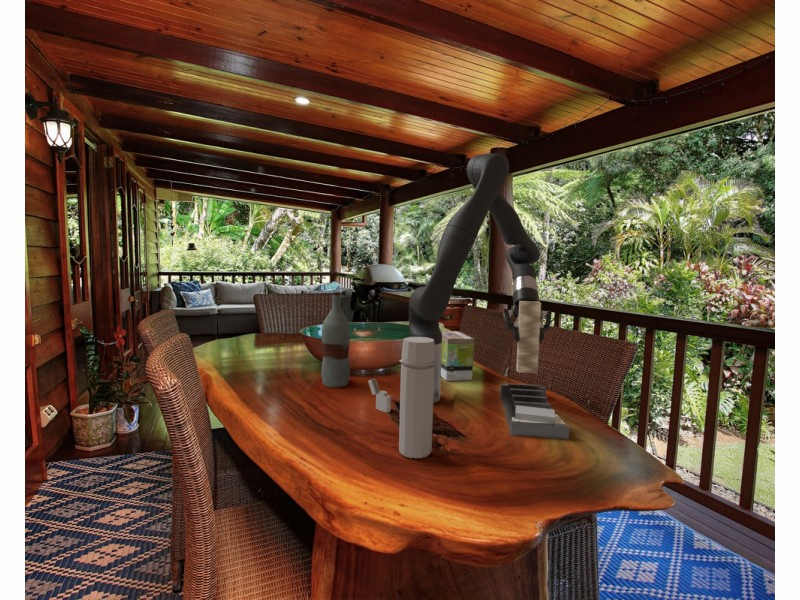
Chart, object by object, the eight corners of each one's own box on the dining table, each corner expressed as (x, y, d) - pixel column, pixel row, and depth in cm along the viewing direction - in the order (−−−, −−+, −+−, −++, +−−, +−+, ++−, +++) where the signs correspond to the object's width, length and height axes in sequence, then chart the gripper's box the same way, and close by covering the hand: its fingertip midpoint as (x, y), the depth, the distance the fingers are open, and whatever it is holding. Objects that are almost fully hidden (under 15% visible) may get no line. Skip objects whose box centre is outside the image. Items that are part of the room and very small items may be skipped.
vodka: (330, 389, 141) (330, 293, 138) (315, 382, 148) (316, 291, 145) (355, 384, 147) (356, 292, 144) (340, 378, 154) (341, 290, 151)
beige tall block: (517, 372, 128) (520, 302, 126) (516, 369, 131) (519, 301, 129) (537, 373, 128) (541, 302, 125) (535, 370, 131) (539, 301, 128)
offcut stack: (514, 434, 106) (515, 415, 106) (511, 422, 114) (512, 404, 113) (565, 438, 105) (566, 419, 104) (558, 425, 112) (559, 408, 112)
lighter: (390, 411, 124) (391, 382, 123) (386, 412, 122) (387, 384, 122) (371, 405, 128) (372, 377, 127) (367, 406, 127) (368, 378, 126)
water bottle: (430, 462, 94) (434, 344, 91) (393, 458, 96) (396, 341, 93) (436, 444, 103) (439, 336, 100) (402, 440, 105) (405, 333, 102)
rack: (510, 441, 106) (511, 418, 105) (499, 398, 136) (500, 380, 136) (568, 445, 104) (569, 422, 104) (544, 401, 135) (545, 383, 134)
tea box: (473, 380, 156) (475, 337, 154) (445, 381, 153) (447, 338, 152) (457, 369, 170) (459, 330, 168) (432, 370, 168) (433, 330, 166)
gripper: (502, 285, 135) (504, 332, 125) (552, 286, 133) (558, 334, 123) (500, 301, 141) (501, 347, 131) (548, 302, 139) (553, 349, 129)
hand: (529, 340), depth 127 cm, fingers closed on beige tall block, 5 cm apart
